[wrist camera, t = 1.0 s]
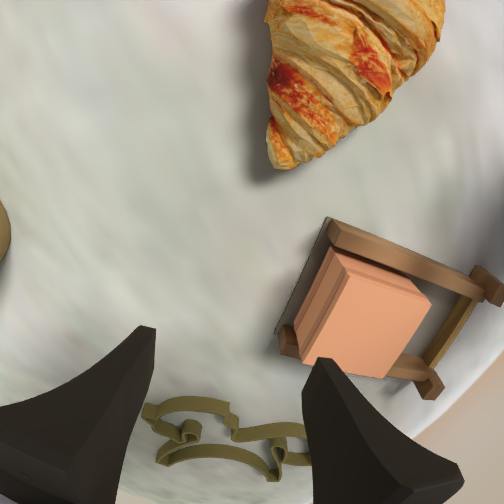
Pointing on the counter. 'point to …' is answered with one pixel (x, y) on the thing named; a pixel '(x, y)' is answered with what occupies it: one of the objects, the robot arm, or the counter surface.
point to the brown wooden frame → (428, 283)
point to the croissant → (340, 67)
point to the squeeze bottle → (4, 231)
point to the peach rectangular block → (358, 314)
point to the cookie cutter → (193, 433)
